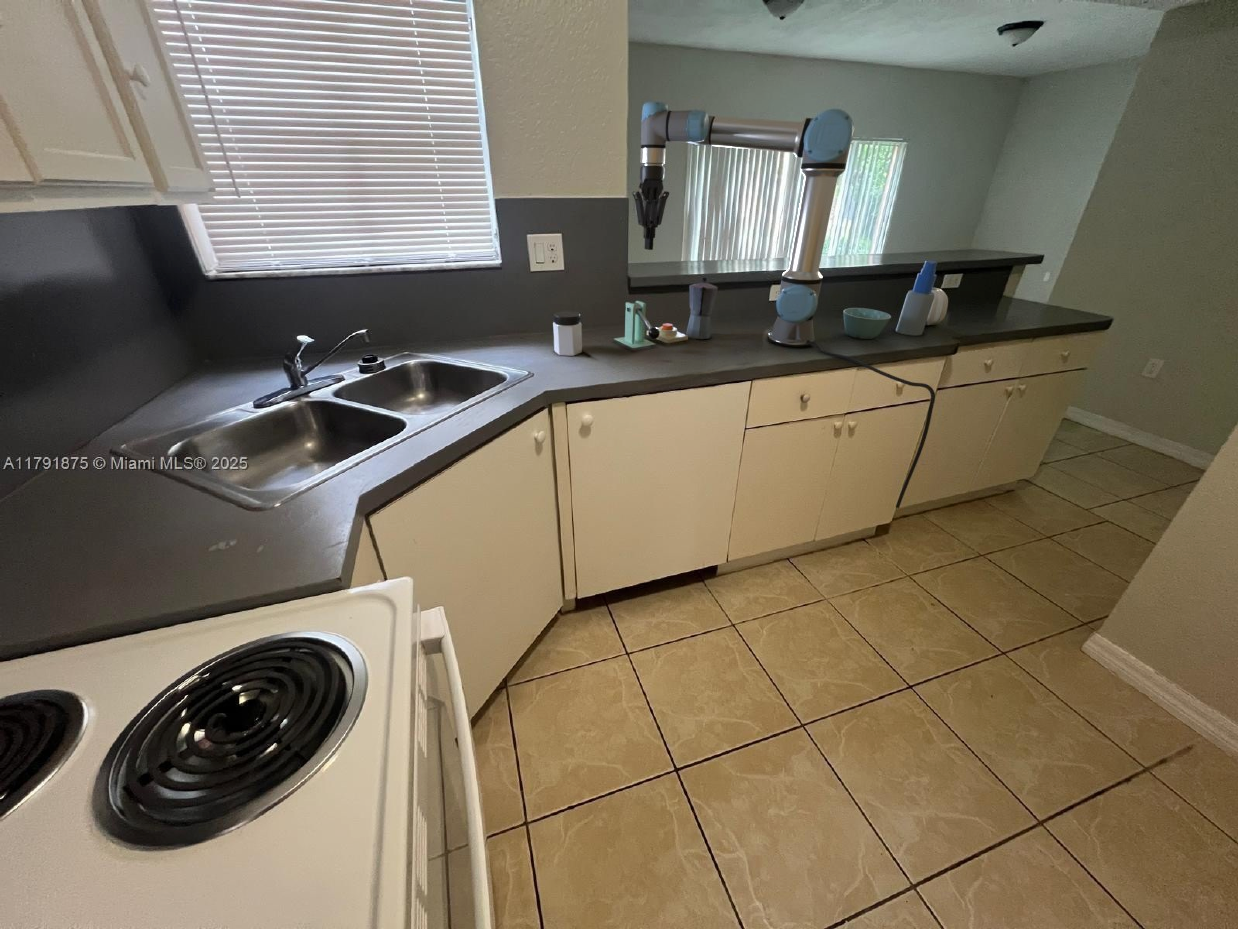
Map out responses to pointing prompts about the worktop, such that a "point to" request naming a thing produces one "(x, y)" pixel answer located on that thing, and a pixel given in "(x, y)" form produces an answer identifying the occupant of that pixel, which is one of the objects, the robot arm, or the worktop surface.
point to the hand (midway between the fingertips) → (648, 249)
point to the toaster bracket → (634, 327)
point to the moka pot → (701, 309)
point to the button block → (670, 335)
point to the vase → (937, 307)
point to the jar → (567, 333)
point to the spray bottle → (918, 302)
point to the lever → (647, 323)
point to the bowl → (864, 322)
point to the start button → (667, 326)
